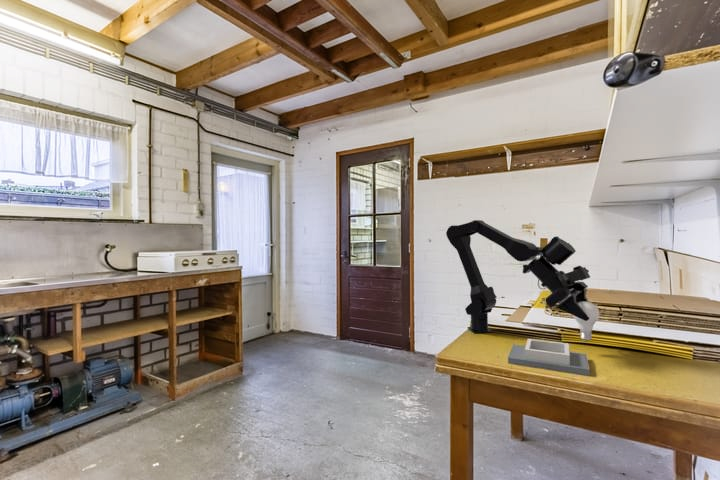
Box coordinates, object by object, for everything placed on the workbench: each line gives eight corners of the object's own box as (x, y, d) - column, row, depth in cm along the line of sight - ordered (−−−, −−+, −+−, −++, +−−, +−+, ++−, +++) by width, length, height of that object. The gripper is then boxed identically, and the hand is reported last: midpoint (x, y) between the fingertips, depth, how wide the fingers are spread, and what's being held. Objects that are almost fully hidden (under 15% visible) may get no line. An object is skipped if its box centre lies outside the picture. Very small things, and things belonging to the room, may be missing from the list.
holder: (508, 363, 89) (507, 348, 89) (513, 349, 100) (513, 336, 100) (589, 376, 80) (589, 359, 80) (586, 359, 90) (585, 344, 90)
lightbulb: (575, 342, 93) (575, 303, 93) (570, 335, 99) (569, 298, 99) (602, 344, 91) (602, 304, 90) (595, 337, 97) (595, 299, 96)
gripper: (557, 259, 91) (607, 306, 83) (579, 255, 103) (624, 295, 95) (528, 285, 97) (571, 330, 89) (552, 278, 109) (592, 318, 101)
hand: (591, 317), depth 94 cm, fingers closed on lightbulb, 6 cm apart
